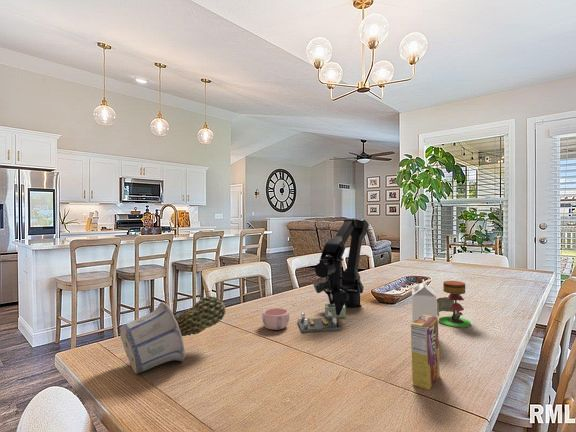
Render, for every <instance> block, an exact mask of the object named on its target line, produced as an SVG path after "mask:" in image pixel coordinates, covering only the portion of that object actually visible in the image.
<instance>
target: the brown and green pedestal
mask: <svg viewBox="0 0 576 432" xmlns="http://www.w3.org/2000/svg"><path fill="white" fill-rule="evenodd" d="M442 285H443V288H442V291H443V292H444V293H446V294H449V295H448V297H446V296H445V297H437V298H436V310H437V317H438V323H440V324H442V325H444V326H448V327H450V328H469V327H470V326H471V325H472V324H471V321H470V320H468V319H466V318H464V317H463V318H462V317H461V316H463V313H462V311H464V307H463V306H462V305H461V304H460V303H459V302H457V301H465V298H464V297H463V296H462V295H465V294H466V283H465V282H463V281H458V280H445V281H443V284H442ZM440 312H449V313H452V314H450V315H448V316H447V315H446V316H441V317H440Z"/></svg>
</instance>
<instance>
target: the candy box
mask: <svg viewBox="0 0 576 432" xmlns="http://www.w3.org/2000/svg"><path fill="white" fill-rule="evenodd" d="M410 335H411V337H410V340H411V342H410V343H411V370H412V371H411V372H412V373H411V374H412V386H415V387H418V388H421V389H424V390H427V391H430V389H431V388H432V387H433V386H434V384H435V383H436V381H437V380H438V379H439V377H440V376H441V373H440V371H441V369H440V367H441V366H440V346H439V343H440V342H439V317H438V316H437V317H434V316H428V315H422V316H420V317H419V318H418V319H417V320H416V321H414V322H413V323H412V322H411V323H410Z"/></svg>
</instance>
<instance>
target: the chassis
mask: <svg viewBox="0 0 576 432" xmlns="http://www.w3.org/2000/svg"><path fill="white" fill-rule="evenodd" d="M297 323H298V325H299V328H300V331H301V333H317V332H332V331H333V332H334V331H342V327H341V326H340V325H339V323H338V322H337V317H332V311H328V317H321V318H320V317H319V318H318V317H317V318H316V317H314V318H306V313H305V311H303V312H300V318H299V319H297Z"/></svg>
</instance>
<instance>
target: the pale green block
mask: <svg viewBox="0 0 576 432" xmlns="http://www.w3.org/2000/svg"><path fill="white" fill-rule="evenodd" d="M346 309H347V307H346V305H345V304H344V306H343V308H342V310H341V312H340V315H336V310H335V304H330V303H325V304H324V315H325V316H324V318H328V311H332V317H336V318H346V316H347V315H346Z"/></svg>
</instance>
